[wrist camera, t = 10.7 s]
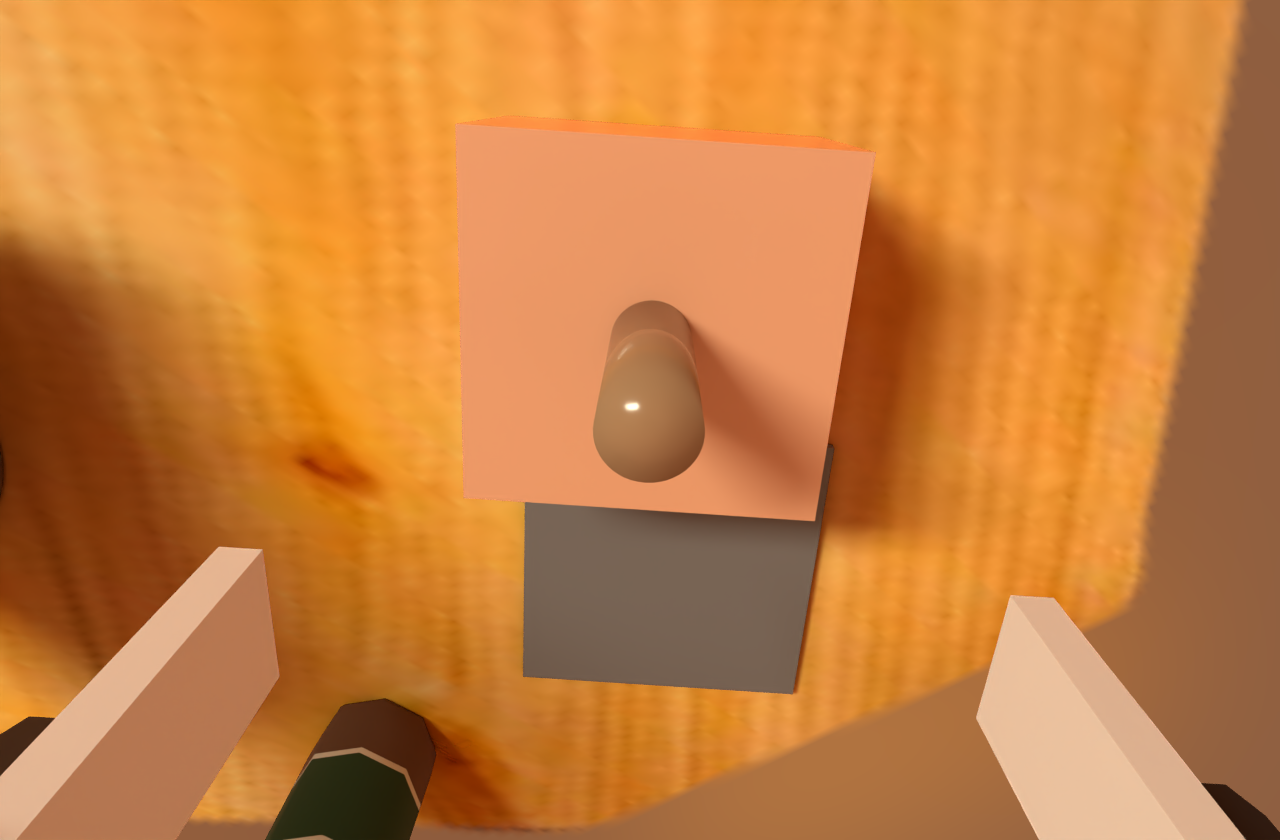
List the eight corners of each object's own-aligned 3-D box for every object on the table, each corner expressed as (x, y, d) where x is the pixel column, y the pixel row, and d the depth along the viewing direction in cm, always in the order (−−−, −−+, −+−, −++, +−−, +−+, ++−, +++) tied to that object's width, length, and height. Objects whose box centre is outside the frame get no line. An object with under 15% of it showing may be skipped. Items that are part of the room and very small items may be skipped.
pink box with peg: (507, 406, 44) (399, 632, 26) (508, 115, 39) (369, 136, 20) (779, 424, 44) (866, 662, 26) (819, 136, 39) (968, 177, 20)
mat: (524, 671, 51) (523, 676, 51) (527, 424, 45) (525, 428, 44) (791, 688, 51) (792, 694, 51) (832, 444, 45) (834, 448, 44)
